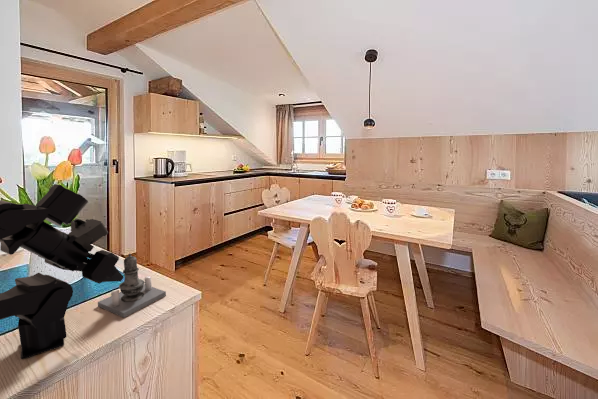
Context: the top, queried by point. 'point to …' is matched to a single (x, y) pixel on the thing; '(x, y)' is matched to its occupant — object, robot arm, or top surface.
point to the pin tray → (127, 308)
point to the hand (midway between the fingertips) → (109, 274)
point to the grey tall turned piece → (131, 281)
